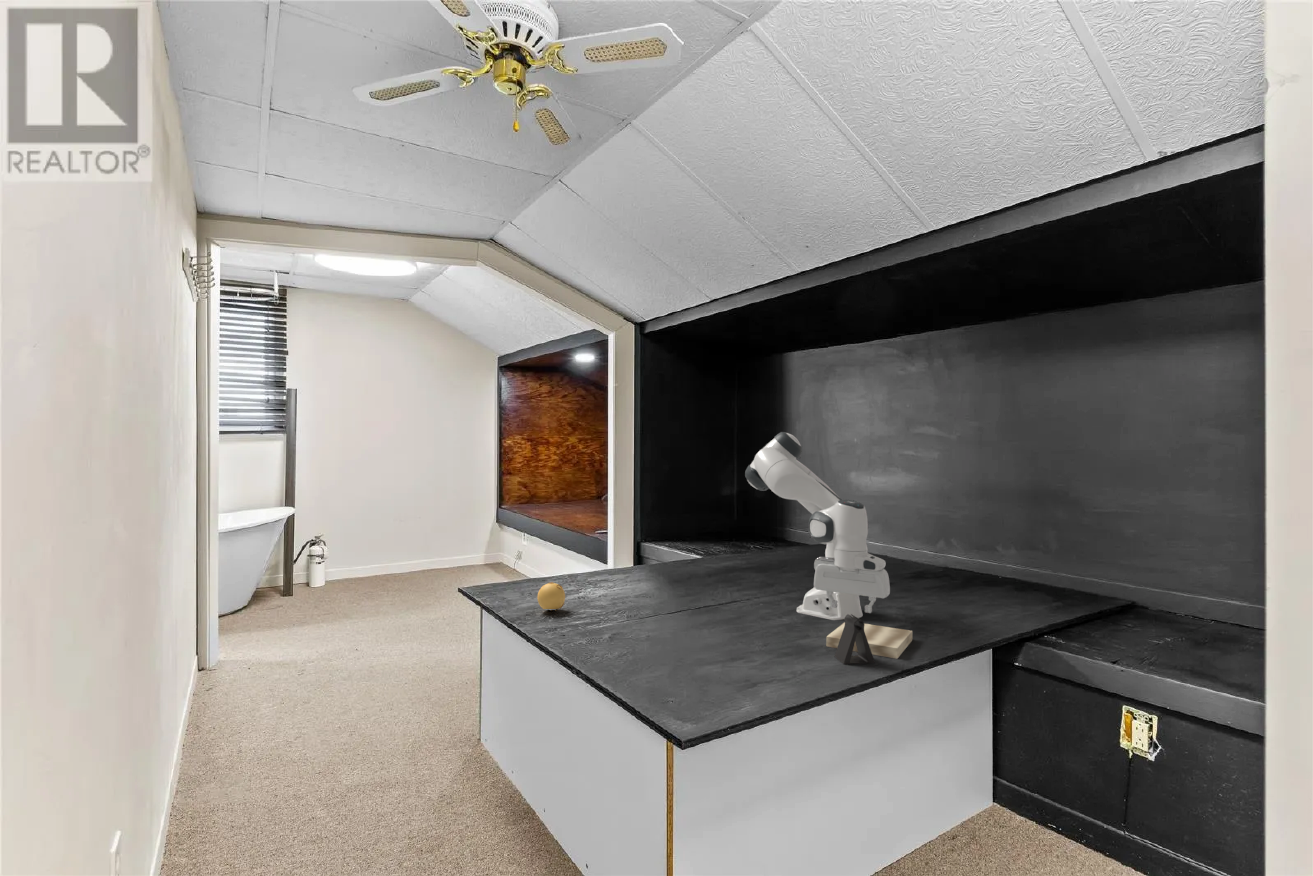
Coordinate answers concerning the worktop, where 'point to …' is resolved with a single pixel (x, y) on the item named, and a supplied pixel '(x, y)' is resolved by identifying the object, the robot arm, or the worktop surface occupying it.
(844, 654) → the phone stand
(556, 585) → the stress ball
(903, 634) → the birch plinth
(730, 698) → the worktop surface
